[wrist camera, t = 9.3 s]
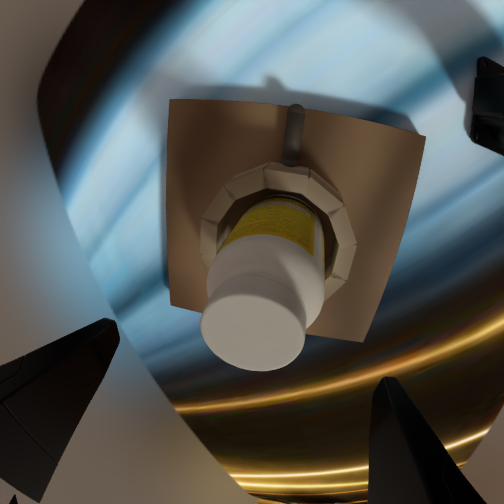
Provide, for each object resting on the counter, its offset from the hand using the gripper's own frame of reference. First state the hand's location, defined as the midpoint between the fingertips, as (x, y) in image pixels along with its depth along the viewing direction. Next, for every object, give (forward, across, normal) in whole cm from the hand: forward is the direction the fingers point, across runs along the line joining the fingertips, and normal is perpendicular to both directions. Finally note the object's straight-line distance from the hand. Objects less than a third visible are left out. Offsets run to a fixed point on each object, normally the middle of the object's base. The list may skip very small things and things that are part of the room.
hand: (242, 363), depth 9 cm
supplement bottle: (+12, 0, 0) cm, 12 cm away
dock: (+13, 0, 0) cm, 13 cm away
